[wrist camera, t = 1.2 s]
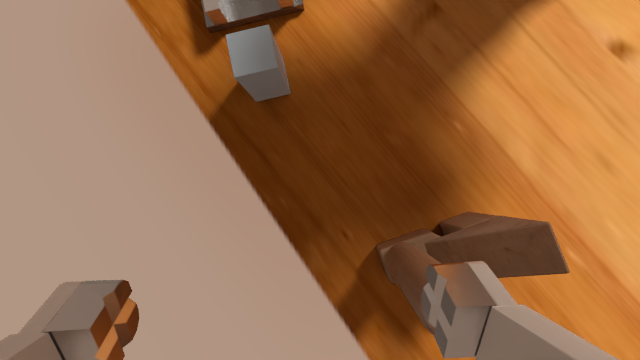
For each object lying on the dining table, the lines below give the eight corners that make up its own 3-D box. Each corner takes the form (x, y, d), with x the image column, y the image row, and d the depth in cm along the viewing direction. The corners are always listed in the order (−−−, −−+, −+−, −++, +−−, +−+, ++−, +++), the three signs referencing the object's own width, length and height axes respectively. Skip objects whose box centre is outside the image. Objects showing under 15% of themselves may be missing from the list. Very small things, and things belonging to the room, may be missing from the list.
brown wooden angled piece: (482, 242, 36) (620, 289, 18) (386, 276, 37) (430, 354, 19) (469, 210, 37) (593, 224, 19) (374, 244, 37) (406, 290, 19)
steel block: (249, 67, 39) (225, 34, 31) (283, 59, 38) (268, 24, 30) (256, 101, 38) (234, 77, 30) (290, 93, 38) (277, 67, 30)
